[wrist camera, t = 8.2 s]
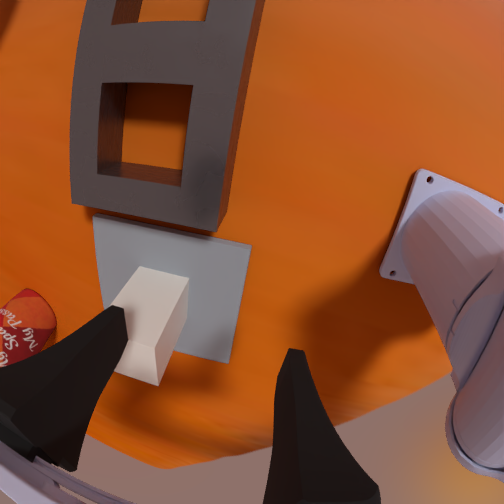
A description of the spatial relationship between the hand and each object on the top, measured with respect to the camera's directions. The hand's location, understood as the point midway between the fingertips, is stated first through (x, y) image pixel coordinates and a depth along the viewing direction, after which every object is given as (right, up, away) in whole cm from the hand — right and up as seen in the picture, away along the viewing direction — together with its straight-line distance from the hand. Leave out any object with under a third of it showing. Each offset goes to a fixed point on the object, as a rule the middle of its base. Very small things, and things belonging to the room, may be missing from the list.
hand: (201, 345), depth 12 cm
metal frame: (-3, +16, +2) cm, 16 cm away
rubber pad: (-5, +1, +11) cm, 12 cm away
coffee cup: (-23, -3, +16) cm, 28 cm away
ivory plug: (-5, +1, +10) cm, 11 cm away
